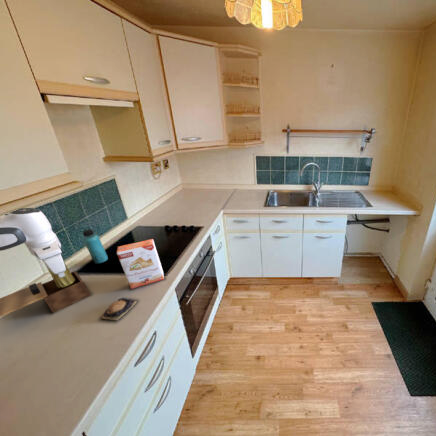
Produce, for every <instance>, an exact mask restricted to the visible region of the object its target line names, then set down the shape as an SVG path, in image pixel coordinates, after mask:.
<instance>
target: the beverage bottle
mask: <svg viewBox="0 0 436 436" xmlns="http://www.w3.org/2000/svg"><path fill="white" fill-rule="evenodd" d="M82 234H83V236H84V239H83V242H84V244H85V247H86V250H87V251H88V253H89V254H90V257H91V260H92V261H93V263H94V264H102V263H104V262H106V261H108V260H109V257H108V254H107V252H106V250H105V247H104V246H103V244H102V241H101V239H100V236H99V235H98V234H95V232H94V230H93V229H87V230H84V231H83V232H82Z"/></svg>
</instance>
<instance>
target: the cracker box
mask: <svg viewBox="0 0 436 436" xmlns="http://www.w3.org/2000/svg"><path fill="white" fill-rule="evenodd" d="M116 255H117V257H118V260H119V263H120V265H121V267H122V270H123V272H124V275H125V278H126V280H127V283H128V285H129V287H130V289H131V290H133V289H136V288H139V287H143V286H146V285H149V284H152V283H156V282H159V281H163V280H165V275H164V269H163V267H162V263H161V260H160V257H159V254H158V250H157V247H156V245H155V241H154V239H153V238H150V239H146V240H142V241H138V242H133V243H128V244H123V245H120V246H117V249H116Z"/></svg>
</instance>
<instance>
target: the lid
mask: <svg viewBox="0 0 436 436" xmlns="http://www.w3.org/2000/svg"><path fill="white" fill-rule="evenodd" d="M42 284H43V283H42V282H41V281H40V282H37V283H36V282H35V283H32V284H30V285H28V286H27V287H25V288H22V289H19V290H17V291H15V292H12V293H9V294H6V295H5V296H2V297H0V318H1V317H4V316H6V315H8V314H10V313H12V312H15V311H17V310H20V309H22V308H24V307H27V306H29V305H31V304H33V303H36V302H38V301H40V300H42V299H43V300H44V298H45V297H47V296H48V295H47V293H46V291H45V289H44V287H43V285H42Z"/></svg>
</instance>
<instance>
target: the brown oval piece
mask: <svg viewBox="0 0 436 436" xmlns="http://www.w3.org/2000/svg"><path fill="white" fill-rule="evenodd" d="M136 303H137V301H136V300H135V299H134V300H132V299H131V298H129V299H128V298H124V297H121V298H119V299H118V300H117V301H115V302H113V303H111V304H110V305H109V307H108V308H107V309H106V310H105V311H104V313H103V314H102V316H101V319H102V320H108V321H114V322H115V321H118V320H120V319H121V318H122V317H123V316H124V315H126V313H128V312H129V311H130V309H132V308H133V306H134V305H136Z"/></svg>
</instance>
